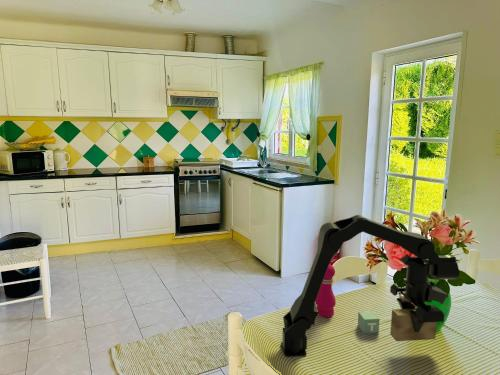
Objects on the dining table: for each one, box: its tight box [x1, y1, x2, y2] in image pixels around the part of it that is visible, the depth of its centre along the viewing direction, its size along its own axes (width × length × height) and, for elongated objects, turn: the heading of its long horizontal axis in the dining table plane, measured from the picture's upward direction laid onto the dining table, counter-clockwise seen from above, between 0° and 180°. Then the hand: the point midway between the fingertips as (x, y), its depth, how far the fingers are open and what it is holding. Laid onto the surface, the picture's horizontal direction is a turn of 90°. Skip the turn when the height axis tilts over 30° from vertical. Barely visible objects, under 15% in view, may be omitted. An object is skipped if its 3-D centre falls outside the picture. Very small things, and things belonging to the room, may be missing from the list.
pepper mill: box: [315, 263, 336, 318], centre depth 124 cm, size 7×7×20 cm
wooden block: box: [389, 307, 438, 342], centre depth 103 cm, size 12×4×8 cm, turn 96°
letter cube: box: [357, 310, 380, 335], centre depth 115 cm, size 5×5×5 cm
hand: (413, 328), depth 103 cm, fingers closed on wooden block, 3 cm apart
